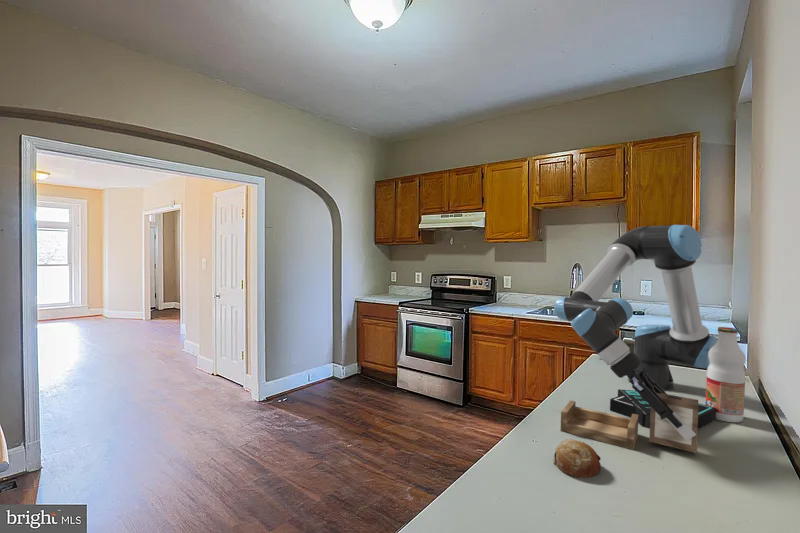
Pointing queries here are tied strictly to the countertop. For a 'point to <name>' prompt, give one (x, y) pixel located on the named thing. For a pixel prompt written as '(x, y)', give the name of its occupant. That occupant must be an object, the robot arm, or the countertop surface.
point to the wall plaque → (636, 404)
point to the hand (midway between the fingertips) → (690, 433)
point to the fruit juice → (726, 377)
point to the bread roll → (576, 458)
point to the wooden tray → (600, 425)
